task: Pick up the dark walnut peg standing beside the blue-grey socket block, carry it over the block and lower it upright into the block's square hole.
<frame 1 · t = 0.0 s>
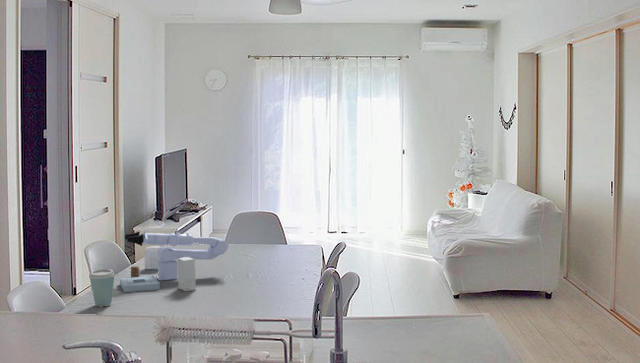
hand: (126, 238, 333), 22 cm above the table, tool horizontal, fingers open, 7 cm apart
disposable coffee cup: (102, 305, 292), on the table
socket block: (139, 286, 325), on the table
walnut peg: (135, 280, 336), on the table
photo printer: (154, 269, 364), on the table
skincare box: (186, 289, 322), on the table
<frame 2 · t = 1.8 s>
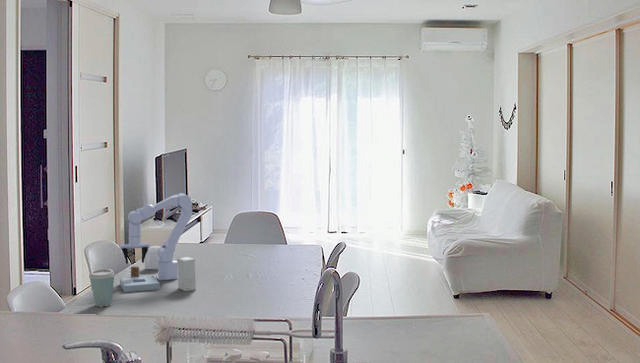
hand: (134, 262, 336), 9 cm above the table, tool pointing down, fingers open, 7 cm apart
nothing on the table moved.
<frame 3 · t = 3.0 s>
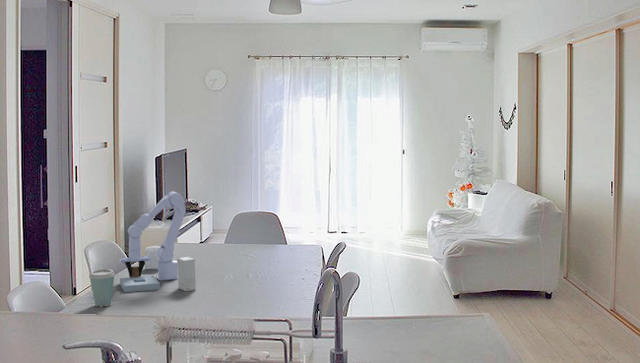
hand: (135, 276, 336), 2 cm above the table, tool pointing down, fingers closed on walnut peg, 4 cm apart
walnut peg: (135, 280, 336), on the table, touching gripper
everything else where it was.
when the fingers open (4 cm above the table, at t = 7.3 s): walnut peg drops 1 cm, resting in socket block.
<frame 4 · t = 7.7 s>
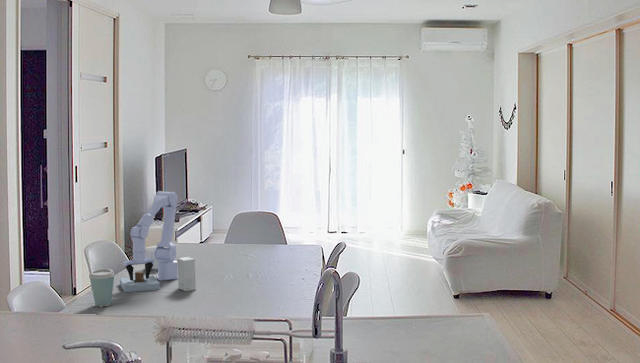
hand: (139, 279, 324), 4 cm above the table, tool pointing down, fingers open, 7 cm apart
walnut peg: (139, 286, 325), resting in socket block
everything else where it was.
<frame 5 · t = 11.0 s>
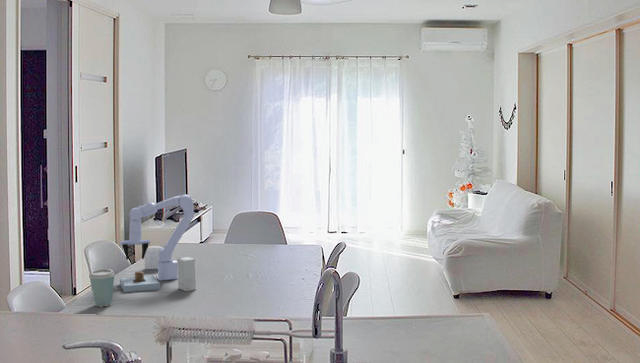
hand: (135, 258, 339), 10 cm above the table, tool pointing down, fingers open, 7 cm apart
nothing on the table moved.
at the end: walnut peg 0.2 cm off-centre on the socket block, point 0.0 cm above the socket block's base; walnut peg tilted 0°; the gripper is holding nothing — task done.
